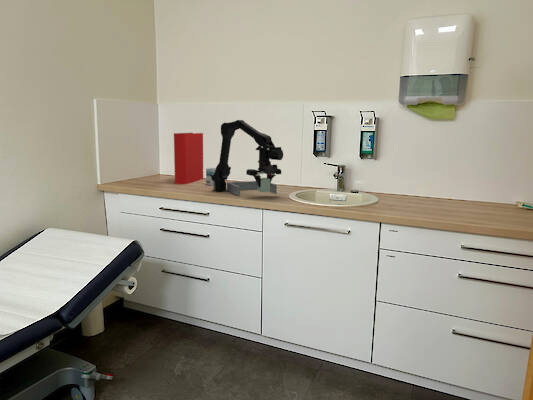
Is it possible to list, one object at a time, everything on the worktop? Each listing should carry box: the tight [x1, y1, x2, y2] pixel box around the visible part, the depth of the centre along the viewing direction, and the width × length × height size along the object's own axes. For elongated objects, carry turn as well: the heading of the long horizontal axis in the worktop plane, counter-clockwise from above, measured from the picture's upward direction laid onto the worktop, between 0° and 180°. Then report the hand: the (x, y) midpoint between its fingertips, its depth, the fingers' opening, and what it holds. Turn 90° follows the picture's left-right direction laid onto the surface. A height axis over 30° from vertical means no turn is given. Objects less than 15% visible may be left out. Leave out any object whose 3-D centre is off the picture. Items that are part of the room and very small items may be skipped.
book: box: [173, 132, 204, 185], centre depth 261 cm, size 27×8×32 cm, turn 164°
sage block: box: [257, 177, 271, 193], centre depth 213 cm, size 5×5×7 cm
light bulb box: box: [205, 166, 217, 187], centre depth 251 cm, size 11×7×11 cm, turn 143°
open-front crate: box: [226, 180, 278, 197], centre depth 228 cm, size 24×17×5 cm
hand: (263, 187), depth 214 cm, fingers closed on sage block, 5 cm apart
